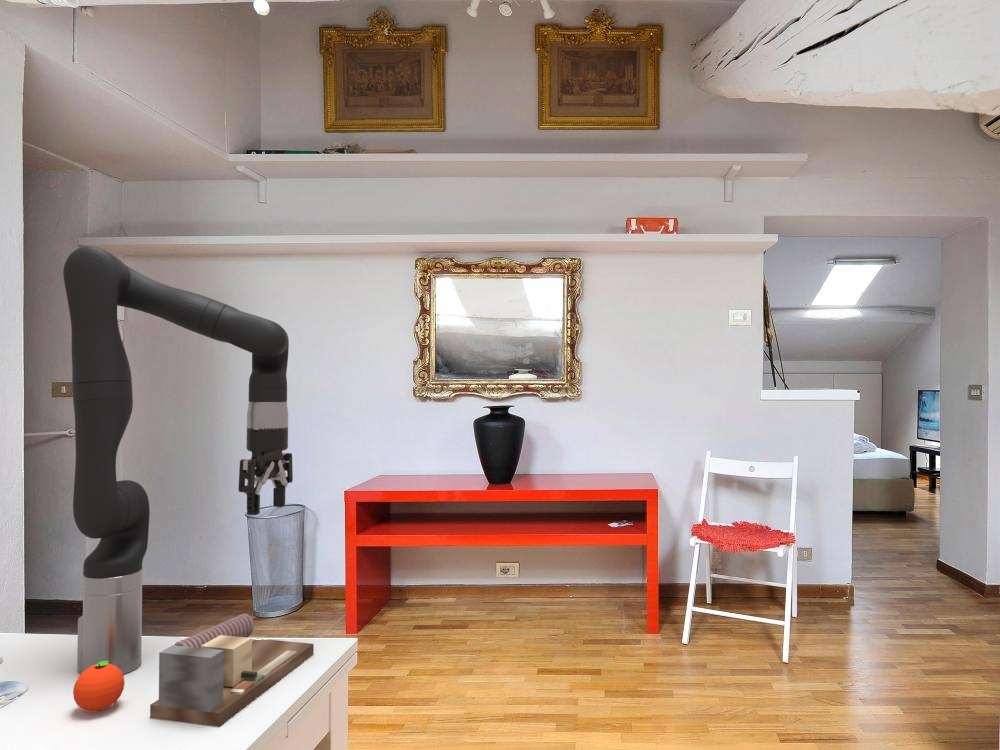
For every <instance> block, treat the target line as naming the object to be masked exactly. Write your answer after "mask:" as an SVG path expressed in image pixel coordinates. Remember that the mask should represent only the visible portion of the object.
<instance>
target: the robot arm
mask: <svg viewBox="0 0 1000 750" xmlns="http://www.w3.org/2000/svg"><path fill="white" fill-rule="evenodd" d="M62 272H63V275H62V276H63V282H64V288H65V294H66V299H67V304H68V305H67V306H68V311H69V318H70V319H69V320H70V328H71V366H72V367H71V368H72V369H71V372H72V373H71V374H72V376H71V378H72V379H71V380H72V382H71V384H72V385H71V386H72V401H73V402H72V403H73V412H74V414H73V415H74V425H75V426H74V435H75V436H74V437H75V438H74V440H75V465H74V480H73V495H72V499H73V500H72V515H73V519H74V522H75V525H76V527H77V529H78V530H79V532H80V533H81V534H83V535H84V536H85V537H86V538H89V539H94V540H95V539H100V540H99V542H98V544H97V546H96V547H95V549H94V550H93V551H92V552H91V553H89V554H88V556H87V557H86V558H85V559H84V562H83V566H82V567H83V568H82V571H83V575H82V615H81V616H79V617H78V619H77V663H76V665H77V666H76V667H77V668H76V672H77V673H80V674H82V672H84V671H85V670H86V669H88V668H89V667H91V666H93V665H95V664H97V663H99V662H102V661H110V662H111V664H112V665H114V666H116V667H118V668H119V669H120V670H121V672H122V674H123V675H125V674H128V673H130V672H132V671H134V670H135V669H138V668H139V667H140V666H141V665H142V637H143V636H142V635H143V634H142V633H143V630H142V629H143V628H142V627H143V626H142V625H143V621H142V620H143V561H144V558H145V556H146V553H147V551H148V545H149V544H148V543H149V527H150V500H149V496H148V494H147V491H146V490H145V487H143V486H142V485H141V484H140V483H139V482H136V481H134V480H127V479H126V480H125V479H122V480H117V456H118V455H117V454H118V450H119V446H120V444H121V441H122V438H123V436H124V434H125V432H126V430H127V428H128V427H127V426H128V425H129V422H130V419H131V416H132V412H133V408H134V406H133V404H134V400H133V398H134V397H133V395H134V394H133V379H132V371H131V367H130V362H129V359H128V355H127V352H126V349H125V346H124V345H125V344H124V343H123V340H122V339H123V338H122V336H121V334H120V329H119V321H118V306H119V307H123V308H128V309H132V310H137V311H139V312H142V313H146V314H148V315H149V314H150V315H152V316H155V317H157V318H160V319H163V320H166V321H168V322H170V323H172V324H174V325H177V326H179V327H180V328H183V329H186V330H188V331H191V332H193V333H196V334H198V335H201V336H203V337H207V338H209V339H212V340H215V341H218V342H221V343H226V344H227V343H228V344H230V345H232V346H234V347H237V348H239V349H241V350H244V351H246V352H247V353H251V373H250V375H249V378H248V379H249V380H248V404H247V405H248V406H247V411H246V450H247V451H248V452H251V458H250V459H248V458H245V459H244V458H243V459H240V460H239V470H238V471H239V472H238V489H237V490H238V492H239V493H244V494H245V495H246V513H247V515H250V516H257V515H260V513H261V494H260V492H261V491H262V488H263V486H264V485H265V484H267V481H268V480H270V481H271V482H272V484H273V486H274V487H273V490H272V491H273V495H272V496H273V501H272V502H273V503H272V504H273V507H274V508H283V507H285V506H286V488H287V487H288V484H289V483H292V482H293V480H294V479H293V476H294V475H293V453H292V452H283V451H287V450H288V448H289V408H288V377H287V373H288V363H289V362H288V361H289V360H288V359H289V349H290V347H289V345H290V342H289V335H288V333H287V331H286V330H285V329H284V328H283V327H282V326H281V325H280V324H279V323H277V322H276V321H273V320H270V319H269V318H265V317H261V316H259V315H255V314H251V313H249V312H245V311H242V310H239V309H237V308H236V307H234V306H231V305H229V304H226V303H223V302H221V301H218V300H216V299H214V298H210V297H208V296H205V295H202V294H199V293H195V292H191V291H188V290H184V289H182V288H178V287H174V286H171V285H168V284H164V283H162V282H159V281H157V280H155V279H152V278H150V277H148V276H146V275H143V274H142V273H140V272H138V271H137V270H135V269H134V268H131V267H129V266H128V265H127V264H125V263H124V262H123V261H122V260H121V259H120V258H118V257H117V256H115V255H114V254H112V253H111V252H110V251H107V250H106V249H103V248H102V247H99V246H94V245H85V246H81V247H78V248H76V249H75V250H73V251H72V252H71V253H70V254H69V255H68V256H67V258H66V260H65V262H64V264H63V270H62ZM246 481H247V483H246Z"/></svg>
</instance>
